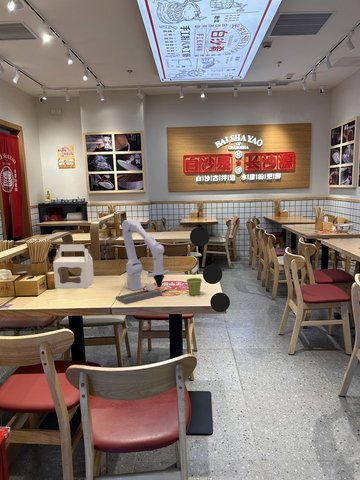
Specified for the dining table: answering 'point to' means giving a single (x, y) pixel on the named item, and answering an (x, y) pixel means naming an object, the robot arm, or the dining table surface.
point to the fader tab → (150, 286)
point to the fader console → (137, 296)
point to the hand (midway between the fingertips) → (159, 287)
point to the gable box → (82, 262)
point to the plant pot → (194, 285)
